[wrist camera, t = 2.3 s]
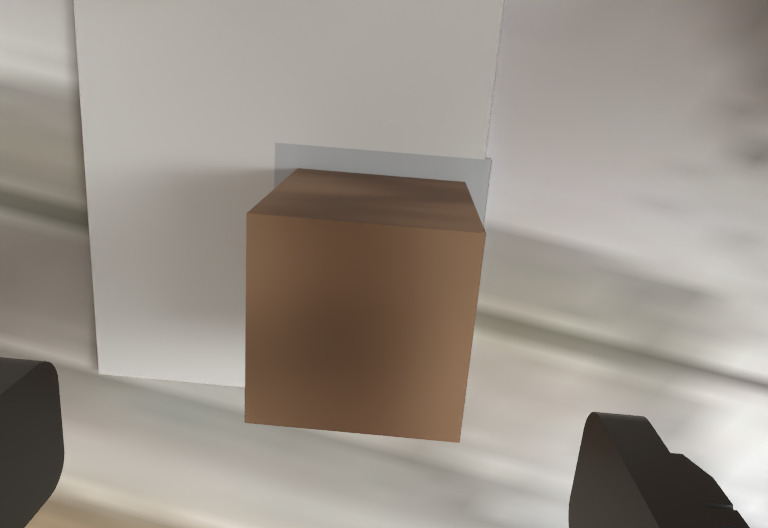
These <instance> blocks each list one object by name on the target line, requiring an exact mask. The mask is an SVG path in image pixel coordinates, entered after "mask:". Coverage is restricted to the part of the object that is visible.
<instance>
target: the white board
mask: <svg viewBox="0 0 768 528" xmlns="http://www.w3.org/2000/svg"><path fill="white" fill-rule="evenodd" d="M73 4H74V19H75V33H76V48H77V62H78V77H79V91H80V106H81V120H82V135H83V149H84V164H85V179H86V193H87V208H88V222H89V237H90V251H91V266H92V280H93V295H94V309H95V324H96V338H97V353H98V368H99V374H103V375H114V376H125V377H136V378H147V379H158V380H169V381H180V382H191V383H202V384H213V385H224V386H235V387H245V327H246V213H247V212H248V211H250V210H251V209H252V208H253V207H254V206H255V205H256V204H258V203H259V202H260V201H261V200H262V199H263V198H264V197H266V196H267V195H268V194H269V193H270V192H271V191H272V190H273V189H275V188H276V187H277V186H278V185H279V184H280V183H281V182H283V181H284V180H285V179H286V178H287V177H288V176H289V175H291V174H292V173H293V172H294V171H295V170H296V169H297V168H302V169H314V170H327V171H339V172H351V173H363V174H375V175H387V176H400V177H412V178H424V179H436V180H448V181H460V182H465V183H466V185H467V188H468V190H469V192H470V195H471V197H472V200H473V202H474V205H475V207H476V210H477V212H478V215H479V217H480V220H481V222H482V225H483V227H484V219H485V211H486V203H487V195H488V187H489V179H490V171H491V163H492V160H491V159H490V158H485V155H486V147H487V139H488V130H489V122H490V114H491V106H492V98H493V89H494V81H495V73H496V65H497V56H498V48H499V40H500V32H501V24H502V15H503V7H504V0H73Z"/></svg>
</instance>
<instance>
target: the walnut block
mask: <svg viewBox="0 0 768 528" xmlns="http://www.w3.org/2000/svg"><path fill="white" fill-rule="evenodd" d="M485 237H486V232H485V230H484V227H483V225H482V222H481V220H480V217H479V215H478V212H477V210H476V207H475V205H474V202H473V200H472V197H471V195H470V192H469V190H468V188H467V185H466V183H465V182H460V181H448V180H436V179H424V178H412V177H400V176H387V175H375V174H363V173H351V172H339V171H327V170H314V169H302V168H297V169H296V170H295V171H294V172H293V173H292V174H291V175H289V176H288V177H287V178H286V179H285V180H284V181H283V182H281V183H280V184H279V185H278V186H277V187H276V188H275V189H273V190H272V191H271V192H270V193H269V194H268V195H267V196H266V197H264V198H263V199H262V200H261V201H260V202H259V203H258V204H256V205H255V206H254V207H253V208H252V209H251V210H250V211H248V212H247V213H246V327H245V423H253V424H264V425H275V426H286V427H297V428H307V429H318V430H329V431H340V432H351V433H361V434H372V435H383V436H394V437H405V438H416V439H426V440H437V441H448V442H460V435H461V427H462V419H463V411H464V403H465V395H466V387H467V379H468V371H469V363H470V356H471V348H472V340H473V332H474V324H475V316H476V308H477V300H478V292H479V285H480V277H481V269H482V261H483V253H484V245H485Z"/></svg>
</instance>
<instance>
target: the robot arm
mask: <svg viewBox="0 0 768 528" xmlns="http://www.w3.org/2000/svg"><path fill="white" fill-rule="evenodd" d="M63 463H64V442H63V430H62V418H61V406H60V395H59V383H58V375H57V371H56V369H55V367H54V366H53V364H51V363H50V362H46V361H35V360H24V359H13V358H2V357H0V528H24V527H25V526H26V525H27V524H28V523H29V521H30V520H31V519H32V518H33V517H34V515H35V514H36V513H37V512H38V511H39V509H40V508H41V507H42V506H43V504H44V503H45V502H46V501H47V500H48V498H49V497H50V496H51V494H52V493H53V491H54V490H55V488H56V486H57V484H58V481H59V479H60V476H61V472H62V468H63ZM569 528H750V527H749V526H748V525H747V523H746V522H745V521H744V519H743V518H742V517H741V515H740V514H739V512H738V511H737V510H733V504H732V503H731V502H730V500H729V499H728V497H727V496H726V495H725V493H724V492H723V491H722V489H721V488H720V487H719V485H718V484H717V482H716V481H715V480H714V478H713V477H711V476H710V475H709V474H707V473H706V472H705V471H703V470H702V469H701V468H700V467H698V466H697V465H696V464H694V463H693V462H692V461H690V460H689V459H688V458H687V457H685V456H684V455H683V454H675V453H670V452H669V450H668V449H667V447H666V446H665V444H664V443H663V441H662V440H661V438H660V437H659V435H658V434H657V432H656V431H655V429H654V428H653V426H652V425H651V423H650V422H649V421H648V419H647V418H645V417H643V416H633V415H622V414H611V413H600V412H592V413H591V414H590V415H589V416H588V418H587V420H586V423H585V427H584V431H583V436H582V441H581V446H580V451H579V456H578V461H577V466H576V471H575V476H574V481H573V486H572V491H571V496H570V502H569Z"/></svg>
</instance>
